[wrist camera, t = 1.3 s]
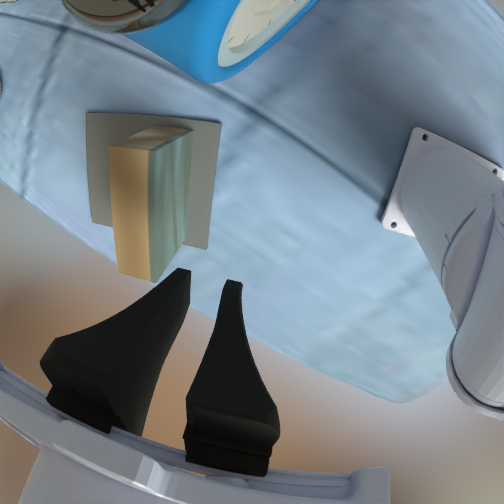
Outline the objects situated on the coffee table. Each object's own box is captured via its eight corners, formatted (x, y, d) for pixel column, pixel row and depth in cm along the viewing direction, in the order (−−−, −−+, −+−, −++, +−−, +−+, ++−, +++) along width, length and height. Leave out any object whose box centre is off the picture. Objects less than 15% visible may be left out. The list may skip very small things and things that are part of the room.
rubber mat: (221, 123, 19) (220, 123, 18) (207, 247, 25) (206, 249, 24) (89, 112, 19) (86, 113, 19) (94, 220, 25) (92, 222, 25)
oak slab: (194, 130, 19) (155, 151, 14) (186, 237, 24) (156, 283, 19) (156, 125, 19) (109, 145, 14) (153, 230, 24) (118, 272, 19)
